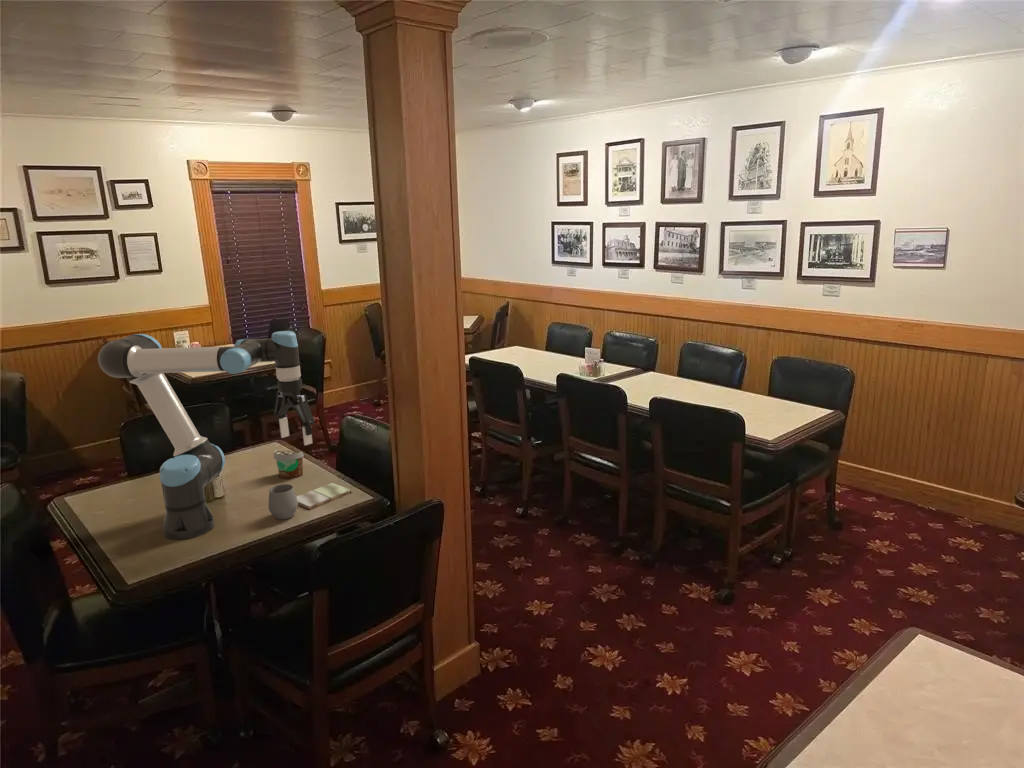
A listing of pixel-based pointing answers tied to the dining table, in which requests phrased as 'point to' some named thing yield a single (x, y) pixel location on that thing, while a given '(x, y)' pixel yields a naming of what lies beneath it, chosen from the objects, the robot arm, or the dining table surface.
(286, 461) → the food container
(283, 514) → the cup
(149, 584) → the dining table surface
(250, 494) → the dining table surface
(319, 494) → the green and white board
